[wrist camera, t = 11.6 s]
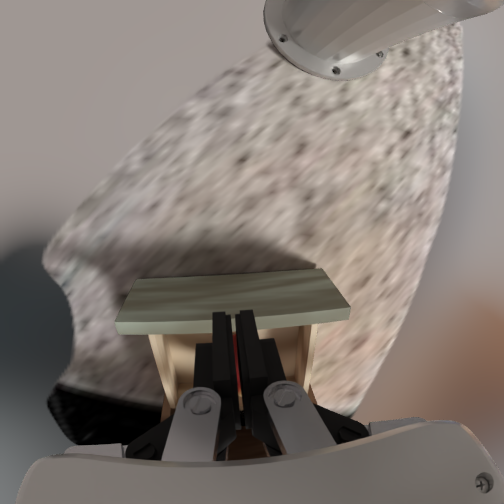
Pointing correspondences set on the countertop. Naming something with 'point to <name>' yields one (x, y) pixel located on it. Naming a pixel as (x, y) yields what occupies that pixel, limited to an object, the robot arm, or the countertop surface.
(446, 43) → the countertop surface
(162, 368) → the drawer
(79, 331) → the countertop surface
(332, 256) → the countertop surface
